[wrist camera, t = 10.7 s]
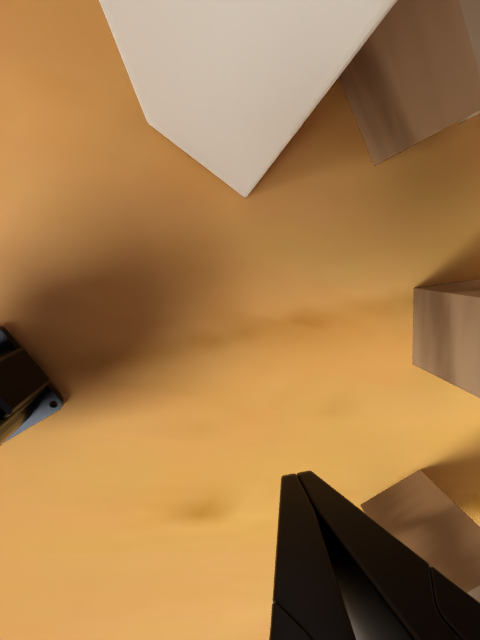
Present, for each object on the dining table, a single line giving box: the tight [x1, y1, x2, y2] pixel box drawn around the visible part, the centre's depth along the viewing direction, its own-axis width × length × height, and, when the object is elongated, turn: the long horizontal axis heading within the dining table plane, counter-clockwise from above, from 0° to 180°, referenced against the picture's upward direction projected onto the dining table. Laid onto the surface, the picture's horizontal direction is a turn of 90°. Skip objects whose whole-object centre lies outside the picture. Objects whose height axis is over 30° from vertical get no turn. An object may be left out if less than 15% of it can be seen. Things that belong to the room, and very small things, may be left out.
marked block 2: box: [339, 0, 480, 166], centre depth 15 cm, size 6×6×8 cm
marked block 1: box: [361, 470, 480, 602], centre depth 22 cm, size 6×6×8 cm
